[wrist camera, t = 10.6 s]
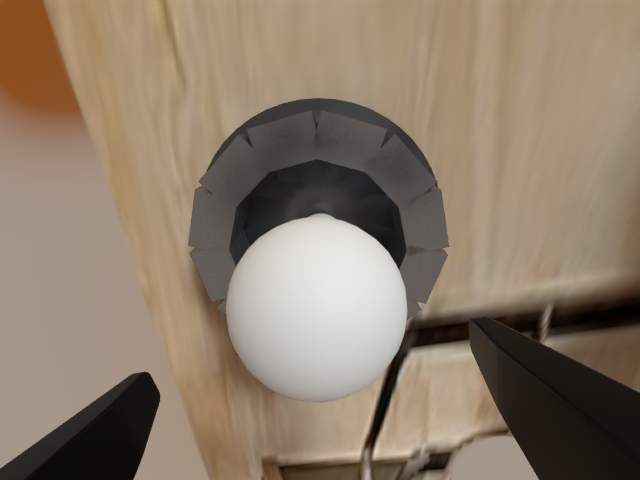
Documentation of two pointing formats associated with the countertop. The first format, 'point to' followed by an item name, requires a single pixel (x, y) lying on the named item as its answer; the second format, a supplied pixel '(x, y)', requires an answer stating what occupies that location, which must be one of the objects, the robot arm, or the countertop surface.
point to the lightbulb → (316, 309)
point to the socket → (319, 190)
